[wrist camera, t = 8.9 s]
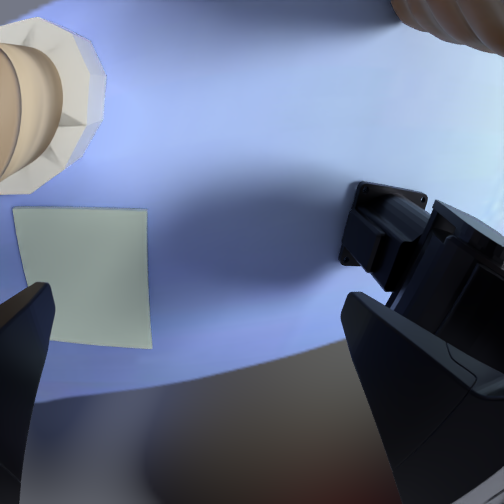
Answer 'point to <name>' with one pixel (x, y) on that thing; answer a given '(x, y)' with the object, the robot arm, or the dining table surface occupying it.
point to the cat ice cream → (457, 21)
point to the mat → (90, 271)
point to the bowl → (74, 98)
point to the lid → (26, 106)
